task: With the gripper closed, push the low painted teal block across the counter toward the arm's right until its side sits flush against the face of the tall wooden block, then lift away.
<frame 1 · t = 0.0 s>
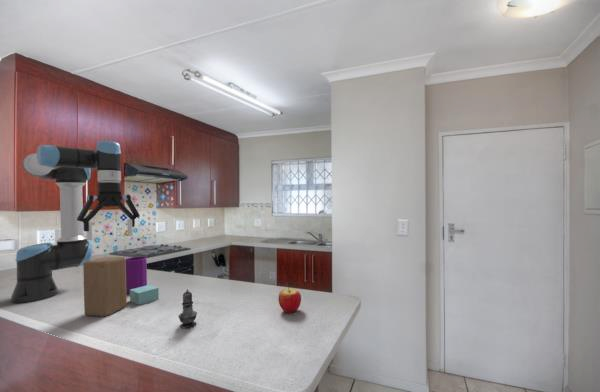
hand: (110, 237, 108), 28 cm above the countertop, fingers open, 13 cm apart
apple: (290, 311, 104), on the countertop
teal block: (144, 300, 120), on the countertop
grey chess piece: (188, 325, 94), on the countertop
mug: (131, 290, 134), on the countertop
wooden block: (106, 311, 108), on the countertop
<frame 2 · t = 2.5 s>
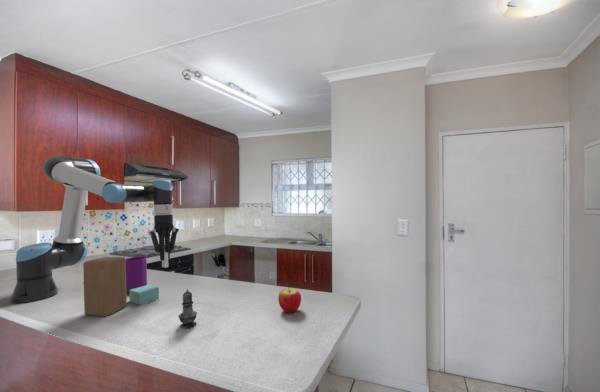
hand: (165, 266, 127), 12 cm above the countertop, fingers closed
nothing on the countertop moved.
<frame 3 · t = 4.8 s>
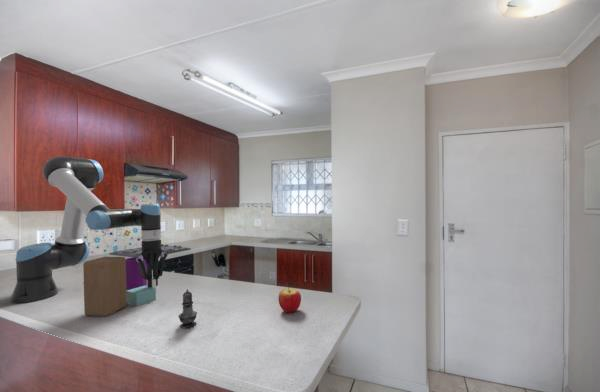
hand: (152, 294, 122), 1 cm above the countertop, fingers closed
teal block: (141, 301, 118), on the countertop, touching gripper
everything else where it was.
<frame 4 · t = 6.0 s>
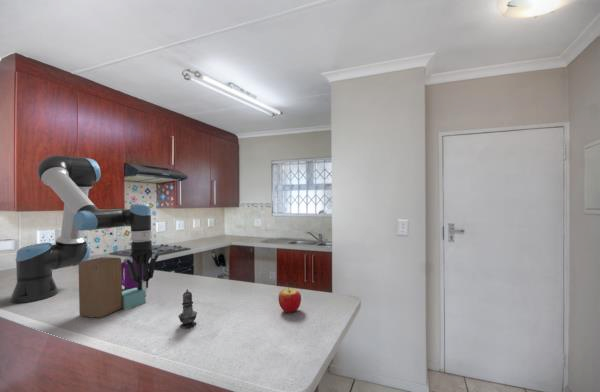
hand: (143, 296, 119), 2 cm above the countertop, fingers closed
teal block: (130, 304, 115), on the countertop, touching gripper, wooden block
wooden block: (101, 312, 107), on the countertop, touching teal block
everything else where it was.
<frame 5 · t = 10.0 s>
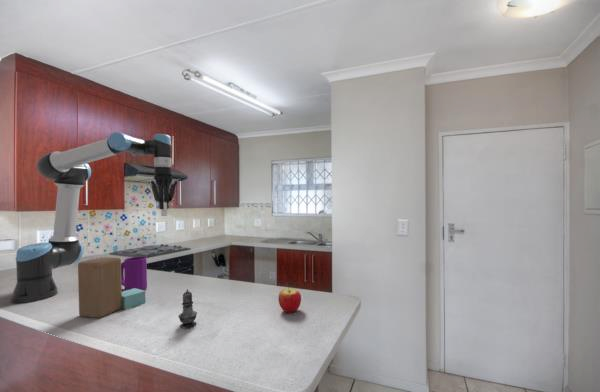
hand: (164, 215, 136), 34 cm above the countertop, fingers closed
teal block: (130, 304, 115), on the countertop
wooden block: (101, 313, 107), on the countertop
everything else where it was.
at the end: teal block 0.9 cm from the target spot on the countertop beside the wooden block, on the countertop; teal block tilted 0°; wooden block tilted 0° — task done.
